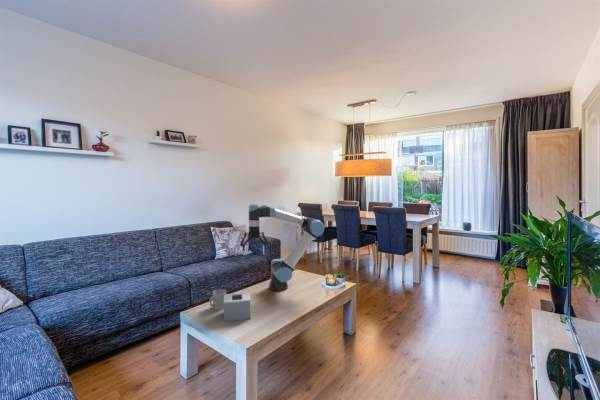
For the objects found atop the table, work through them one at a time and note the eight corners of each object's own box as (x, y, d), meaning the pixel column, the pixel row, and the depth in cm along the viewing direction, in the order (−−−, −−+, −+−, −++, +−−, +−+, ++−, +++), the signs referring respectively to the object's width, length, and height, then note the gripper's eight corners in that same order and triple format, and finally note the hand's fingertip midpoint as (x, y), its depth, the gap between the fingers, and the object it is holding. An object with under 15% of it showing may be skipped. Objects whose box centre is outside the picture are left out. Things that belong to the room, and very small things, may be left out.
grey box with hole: (249, 309, 195) (249, 292, 194) (250, 318, 182) (250, 299, 181) (224, 312, 191) (224, 294, 190) (223, 321, 179) (223, 302, 178)
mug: (220, 303, 205) (220, 288, 204) (228, 306, 200) (228, 291, 199) (205, 309, 195) (205, 293, 194) (214, 313, 190) (214, 296, 189)
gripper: (270, 224, 219) (270, 252, 221) (236, 225, 214) (236, 254, 215) (271, 226, 212) (272, 254, 213) (236, 227, 207) (237, 256, 208)
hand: (254, 254), depth 214 cm, fingers open, 13 cm apart
